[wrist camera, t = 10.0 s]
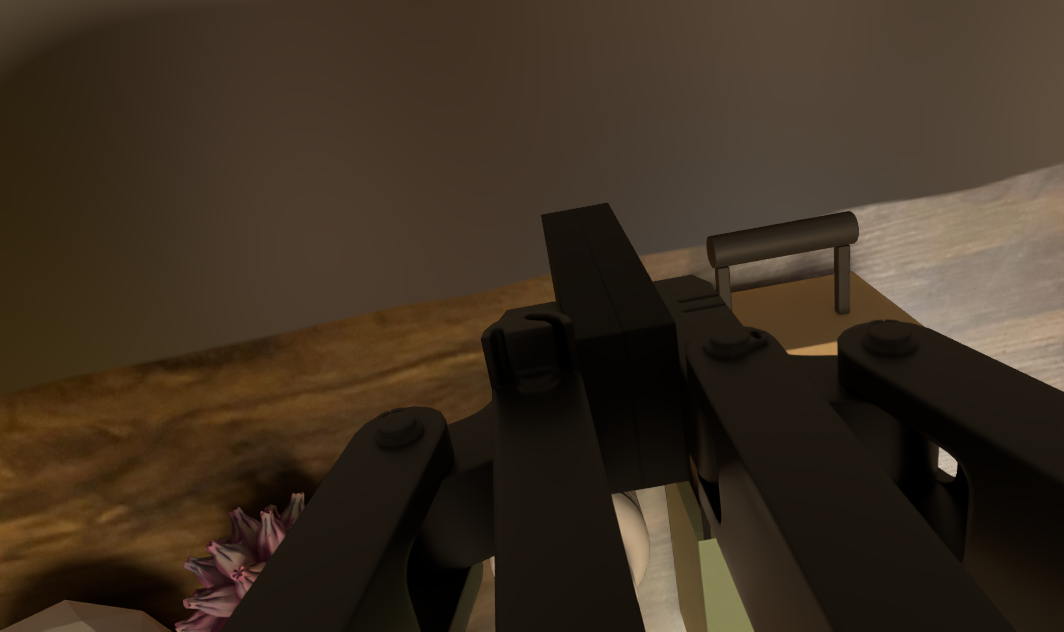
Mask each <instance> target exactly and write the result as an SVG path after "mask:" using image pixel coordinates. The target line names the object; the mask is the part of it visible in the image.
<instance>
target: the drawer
mask: <svg viewBox="0 0 1064 632" xmlns="http://www.w3.org/2000/svg"><path fill="white" fill-rule="evenodd" d="M858 236H859V227H858V222H857V219H856V217H855V215H854V214H853V213H852V212H850V211H847V212H841V213H836V214H830V215H825V216H819V217H814V218H808V219H803V220H797V221H792V222H786V223H781V224H775V225H770V226H764V227H759V228H753V229H748V230H742V231H736V232H731V233H725V234H720V235H714V236H709V237H708V238H707V244H706V245H707V254H708V259H709V262H710V264H711V266H712V268H715V278H716V290H717V292H718V294H719V296H721V297H722V299H723V300H724V301H725V303H726V306H727V305H728V307H729V308H730V309H731V311H732V312H733V313H734V315H735V316H736V317H737V318H738V320H739V321H740V322H741V324H742V325H743V326H747V327H754V328H757V329H760V330H764V331H766V332H768V333H769V334H771V335H772V336H773V337H775V338H776V339H777V340H778V342H779V343H780V344H781V345H782V347H783V348H784V349H785V350H786V351H787V353H788V354H792V355H837V338H838V337H839V336H840V335H841V333H842V332H843V331H844V330H846V329H848V328H851V327H853V326H855V325H858V324H863V323H868V322H870V321H873V320H883V321H885V319H889V320H898V321H900V322H907V323H914V324H917V325H920V326H923V325H922V324H920V323H919V322H918V321H916V320H915V319H914V318H912V317H911V316H910V315H909V314H907V313H906V312H905V311H903V310H902V309H901V308H899V307H898V306H897V305H896V304H894V303H893V302H892V301H890V300H889V299H888V298H886V297H885V296H884V295H882V294H881V293H880V292H879V291H877V290H876V289H875V288H873V287H872V286H871V285H869V284H868V283H867V282H866V281H864V280H863V279H862V278H860V277H859V276H858V275H856V274H855V273H854V272H852V271H850V245H849V244H854V243H855V242H856V241H857V240H858ZM831 247H834V275H828V276H823V277H817V278H811V279H806V280H800V281H795V282H789V283H784V284H778V285H772V286H767V287H761V288H756V289H750V290H745V291H739V292H733V293H731V286H730V272H729V267H728V266H731V265H737V264H743V263H748V262H754V261H759V260H765V259H770V258H776V257H781V256H787V255H793V254H798V253H804V252H809V251H815V250H820V249H826V248H831ZM923 327H924V326H923ZM689 455H690V454H689ZM690 464H691V474H692V480H691V481H689V482H690V485H691V487H692V489H693V492H694V494H695V497H696V499H697V502H698V504H699V506H700V496H699V486H698V476H697V470H696V467H695V465H694V463H693V460H692V458H691V456H690ZM700 509H701V506H700ZM711 529H712V528H711Z"/></svg>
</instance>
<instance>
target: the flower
mask: <svg viewBox="0 0 1064 632" xmlns="http://www.w3.org/2000/svg"><path fill="white" fill-rule="evenodd" d="M304 508H305V504H304V492H300V493H297V494H295V493H292V495H291V499H290V503H289V504H288V505H287V507H286V508H285V510H284V511H283V513H282V514H281V516H280V515H279V514H278V511H277V508H276V505H271V504H270V505H269V506H268V507H265V509H264V510H263V511H261V512H260V515H261V523H260V522H259V521H257V520H255V519H253V518H251V517H249V516H247V515H246V514H244V512H243V511H242V510H241V509H240V507H238V508H237V509H236V510H233V511H232V512H229V517H230V519H231V521H232V540H230V539H229V538H227V537H224V538H222V539H220V542H218V541H216V540H214V539H212V540H211V542H209V543H207V547H206V548H205V550H207V551H208V552H209V553H210V554H211V555H212V556H210V557H204V558H195V557H188V561H186V562H184V563H183V567H184V568H185V569H187V570H190V571H191V572H193V573H194V574H195V576H196V577H197V578H198V580H199V581H200V582H201V583H202V584H203V585H204V586H205V587H206V588H203V589H196V591H195V592H194V594H193V597H188V598H186V599H183V603H184V607H185V608H190V609H197V610H196V611H195V612H194V613H192V614H191V615H190V616H189V617H188V618H186V619H185V620H182V621H180V622H177V623H175V626H176V629H175V630H176V631H177V632H220V630H221V629H222V627H223V626H224V624H225V623H226V622H227V620H228V619H229V617H230V616H231V614H232V613H233V611H234V610H235V608H236V607H237V606H238V604H239V603H240V601H241V600H242V598H243V597H244V595H245V594H246V592H247V591H248V589H249V588H250V587H251V585H252V584H253V582H254V581H255V579H256V578H257V576H258V575H259V573H260V572H261V571H262V569H263V568H264V566H265V565H266V563H267V562H268V560H269V559H270V557H271V556H272V554H273V553H274V552H275V550H276V549H277V547H278V546H279V544H280V543H281V541H282V540H283V538H284V537H285V536H286V534H287V533H288V531H289V530H290V528H291V527H292V525H293V524H294V522H295V521H296V520H297V518H298V517H299V515H300V514H301V512H302V511H303V509H304Z"/></svg>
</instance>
